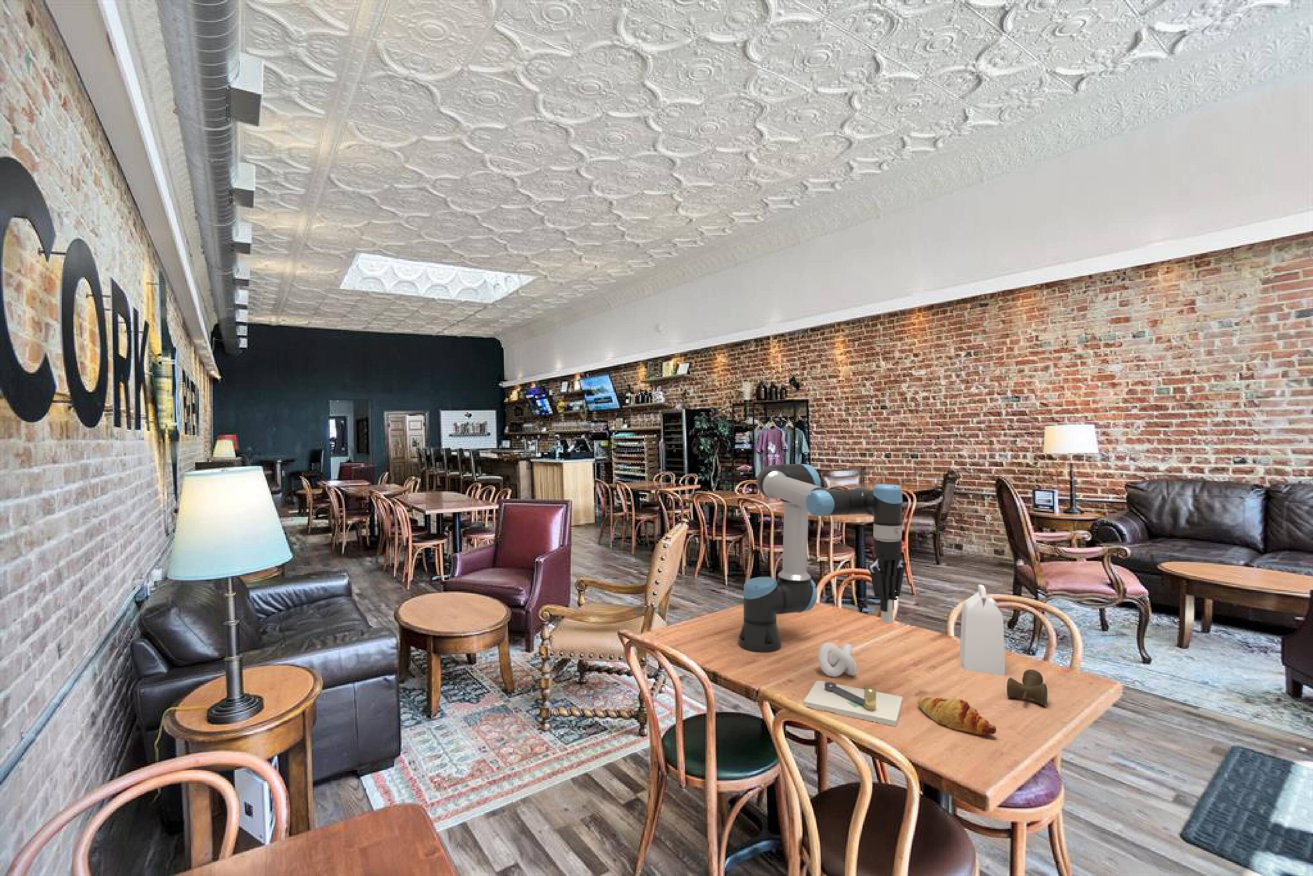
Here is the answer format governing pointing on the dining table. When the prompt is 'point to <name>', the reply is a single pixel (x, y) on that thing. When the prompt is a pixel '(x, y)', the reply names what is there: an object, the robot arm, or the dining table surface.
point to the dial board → (855, 704)
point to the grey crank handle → (867, 702)
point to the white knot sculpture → (837, 660)
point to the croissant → (956, 715)
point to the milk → (982, 635)
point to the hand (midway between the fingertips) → (887, 622)
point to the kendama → (1029, 687)
